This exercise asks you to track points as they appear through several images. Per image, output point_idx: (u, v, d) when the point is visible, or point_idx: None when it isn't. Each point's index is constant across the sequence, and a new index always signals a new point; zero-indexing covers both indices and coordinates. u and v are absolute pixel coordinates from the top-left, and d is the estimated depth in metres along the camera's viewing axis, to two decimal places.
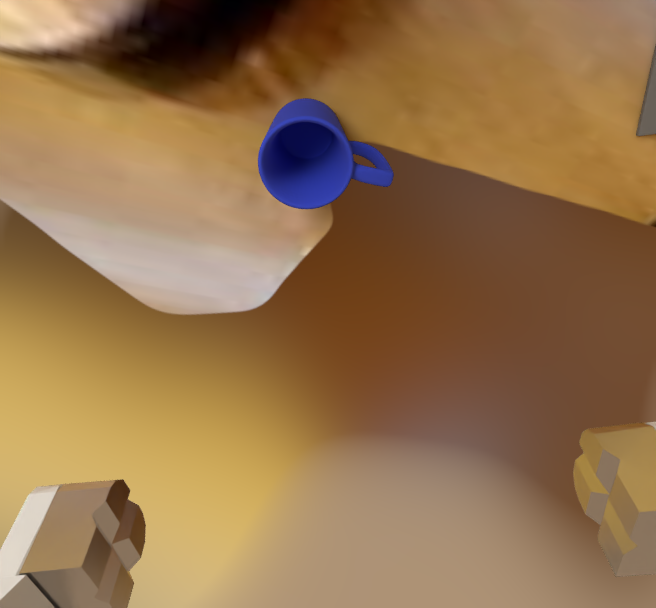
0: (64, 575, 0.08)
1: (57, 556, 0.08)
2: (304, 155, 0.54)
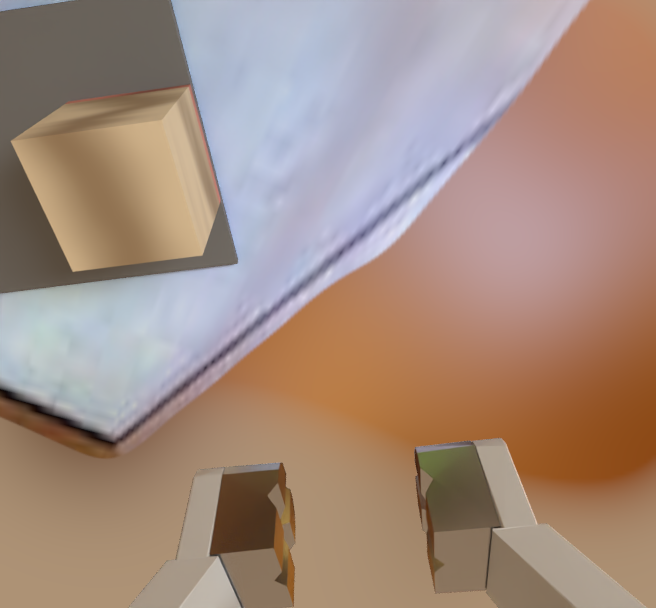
0: (252, 557, 0.08)
1: (244, 537, 0.08)
2: None
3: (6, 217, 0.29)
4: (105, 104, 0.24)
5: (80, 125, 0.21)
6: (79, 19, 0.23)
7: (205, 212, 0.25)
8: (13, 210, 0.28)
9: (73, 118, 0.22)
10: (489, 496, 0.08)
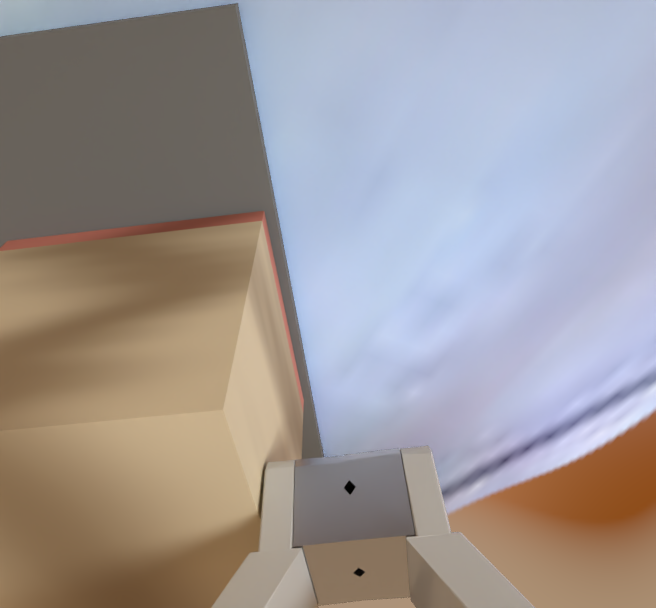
0: (335, 549, 0.08)
1: (326, 529, 0.08)
2: None
3: None
4: (79, 271, 0.10)
5: None
6: (32, 77, 0.10)
7: None
8: None
9: None
10: (408, 504, 0.08)
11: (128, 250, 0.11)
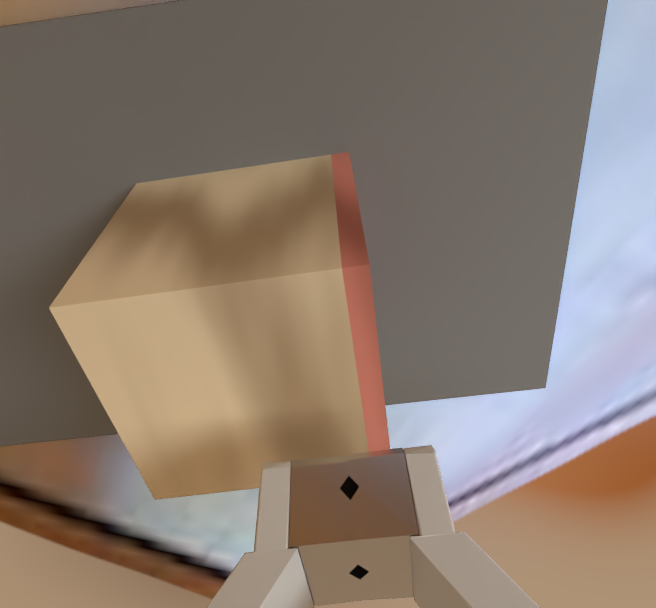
0: (330, 549, 0.08)
1: (321, 530, 0.08)
2: None
3: None
4: (278, 197, 0.12)
5: (143, 217, 0.13)
6: (433, 0, 0.12)
7: (239, 464, 0.12)
8: None
9: (206, 195, 0.13)
10: (411, 504, 0.08)
11: (305, 208, 0.12)
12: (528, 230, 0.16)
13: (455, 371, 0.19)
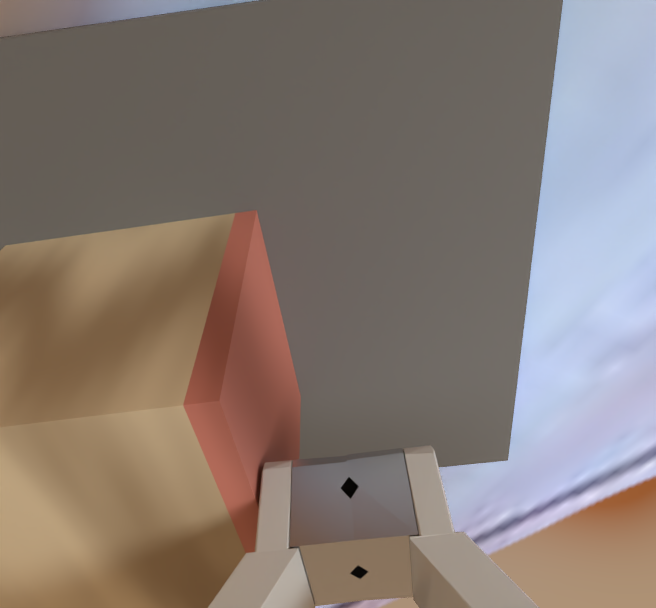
0: (331, 549, 0.08)
1: (323, 529, 0.08)
2: None
3: None
4: (152, 277, 0.10)
5: None
6: (342, 34, 0.10)
7: (103, 605, 0.10)
8: None
9: (73, 269, 0.11)
10: (411, 504, 0.08)
11: (176, 296, 0.09)
12: (477, 296, 0.13)
13: (404, 444, 0.17)
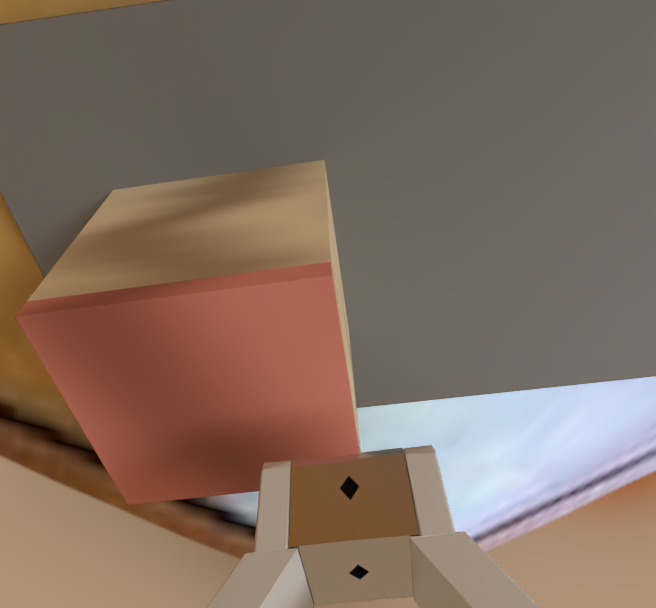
0: (331, 549, 0.08)
1: (322, 530, 0.08)
2: None
3: (377, 307, 0.17)
4: (215, 244, 0.11)
5: (231, 184, 0.14)
6: None
7: None
8: (394, 296, 0.17)
9: (258, 202, 0.13)
10: (411, 504, 0.08)
11: (171, 264, 0.11)
12: None
13: (616, 353, 0.19)
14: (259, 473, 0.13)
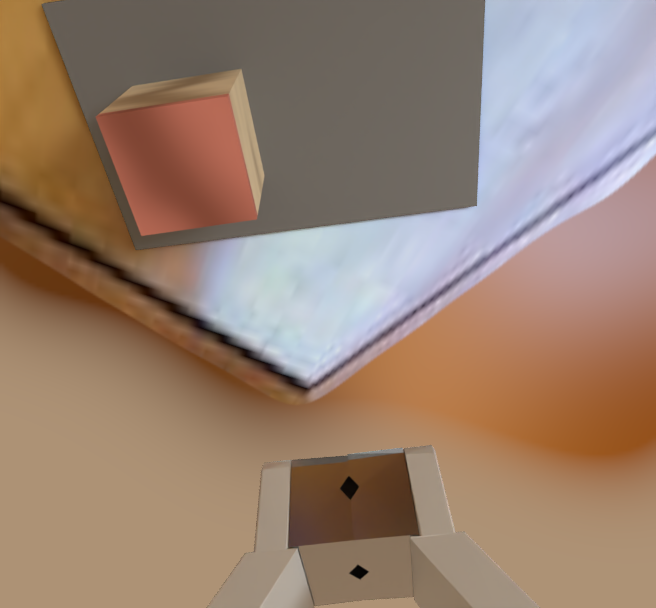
0: (330, 549, 0.08)
1: (322, 530, 0.08)
2: None
3: (279, 159, 0.31)
4: (181, 94, 0.25)
5: (192, 79, 0.27)
6: None
7: None
8: (288, 152, 0.31)
9: (204, 83, 0.26)
10: (411, 504, 0.08)
11: (161, 100, 0.24)
12: (457, 95, 0.29)
13: (422, 192, 0.32)
14: (205, 214, 0.26)
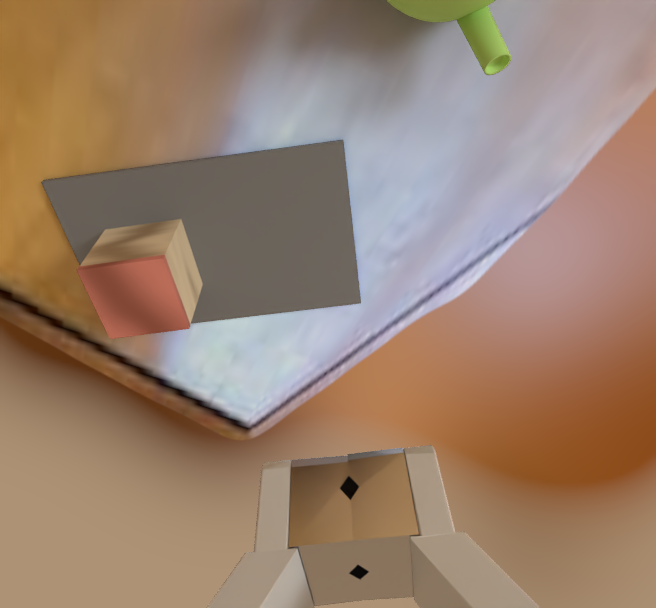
0: (331, 549, 0.08)
1: (322, 530, 0.08)
2: None
3: (212, 274, 0.43)
4: (135, 249, 0.37)
5: (146, 228, 0.39)
6: (287, 159, 0.37)
7: None
8: (218, 269, 0.42)
9: (152, 235, 0.38)
10: (411, 504, 0.08)
11: (121, 255, 0.36)
12: (336, 234, 0.41)
13: (319, 294, 0.44)
14: (153, 325, 0.38)
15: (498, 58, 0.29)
